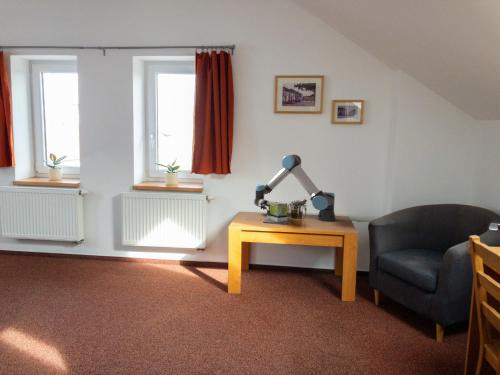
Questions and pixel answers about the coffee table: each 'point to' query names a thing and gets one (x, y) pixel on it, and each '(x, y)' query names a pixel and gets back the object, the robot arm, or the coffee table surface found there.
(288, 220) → the rubber mat
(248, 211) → the coffee table surface
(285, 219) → the tea box
